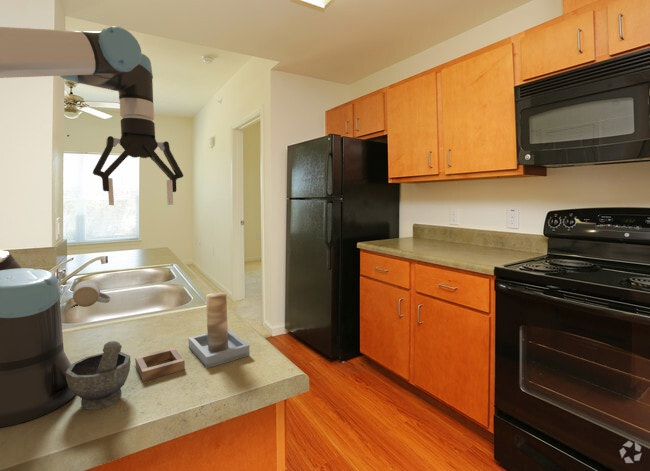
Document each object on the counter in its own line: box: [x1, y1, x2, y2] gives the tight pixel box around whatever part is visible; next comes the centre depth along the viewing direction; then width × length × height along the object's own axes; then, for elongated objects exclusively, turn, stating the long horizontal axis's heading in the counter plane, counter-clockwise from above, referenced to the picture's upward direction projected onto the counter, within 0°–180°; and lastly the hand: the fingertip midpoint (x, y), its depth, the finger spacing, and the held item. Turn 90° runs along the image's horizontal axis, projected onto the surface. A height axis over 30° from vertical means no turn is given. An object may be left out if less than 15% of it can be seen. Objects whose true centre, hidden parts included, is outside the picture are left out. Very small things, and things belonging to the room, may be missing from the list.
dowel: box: [205, 292, 229, 352], centre depth 83 cm, size 5×5×13 cm
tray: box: [188, 328, 250, 369], centre depth 83 cm, size 10×13×2 cm
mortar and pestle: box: [66, 340, 131, 410], centre depth 63 cm, size 11×9×12 cm
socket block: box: [134, 347, 186, 382], centre depth 75 cm, size 8×8×2 cm
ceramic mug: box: [72, 279, 111, 308], centre depth 119 cm, size 11×8×8 cm
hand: (142, 205), depth 89 cm, fingers open, 13 cm apart
